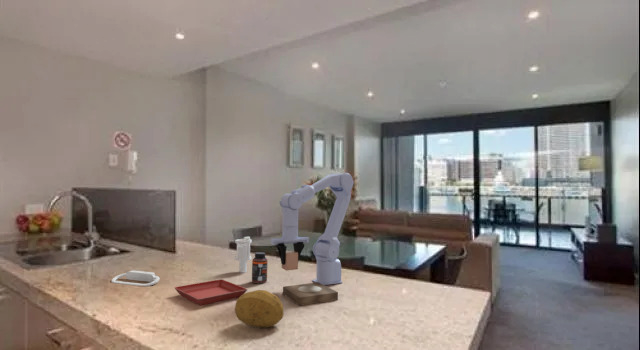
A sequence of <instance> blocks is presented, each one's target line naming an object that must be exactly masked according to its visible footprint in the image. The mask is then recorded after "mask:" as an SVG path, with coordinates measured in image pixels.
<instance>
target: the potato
mask: <svg viewBox="0 0 640 350" xmlns="http://www.w3.org/2000/svg"><path fill="white" fill-rule="evenodd" d="M234 306H235V307H234V313H235V316H236V318H237V319H238V320H239V321H240V322H242V323H244V324H246V325H248V326H250V327H254V328H260V329H261V328H262V329H263V328H266V329H268V328H270V327H274V326H275V325H277V324H278V323H279V322H280V321H281V320H282V319H283V318H284V314H285V313H284V305H283V303H282V300H281V299H280V298H279V297H278V296H277V295H276V294H274V293H272V292H270V291H268V290H263V289H257V290H253V291H247V292H245V293H244V294H243V295H241V296H240V297H239V298H236V302H235V305H234Z"/></svg>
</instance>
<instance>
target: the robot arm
mask: <svg viewBox="0 0 640 350" xmlns="http://www.w3.org/2000/svg"><path fill="white" fill-rule="evenodd" d="M354 183H355V181H354V179H353V176H352V175H351V174H350V173H349V172H343V173H342V172H339V173H334V172H332V173H329V174H327V175H325V176H324V177H322V178H321V179H319V180H317V181H316V182H314V183H312V184H311V185H309V184H301V185H300V187H299V188H297V189H292V190H291V192H290V193H284V194H283V195H282V196H281V198H280V200H279V205H280V207H281V212H282V232H281V234H282V235H281V237H278V238H270V245H271V246H275V248H276V250H277V251H278V254H279V257H280V262H281V263H280V264H281V265H282V264H283V265H285V262H286V258H285V256H286V251H287V245H289V244H290V245H291V244H292V245H293V251H295V252H298V262H299V261H300V257H301V254H302V252H303V249H304V248H305V244H308V243H310V237H308V236H299V209H301V207H302V204H305V203H307V202H308V201H310V200H311V199H313V198H314V197H315V195H316V193H318V192H320V191H323V190H324V189H326V188H329V189H330V191H331V192H332V193H333V195H335V197H336V199H335V201H334V205H333V207H332V211H331V213H330V215H329V218H328V221H327V225H326V227H325V230H324V232H323V233H322V235H320V236H318V239H317V241H316V242H314V244H313V247H312V252H313V255H314V256H315V259H316V278H315V279H312V280H311V281H312V282H313V283H316V282H319V283H321V284H323V285H325V286H328V285H336V284H342V283H343V281H342V264H341V260H340V259H339V258H338V257H339V254H340V245H341V242H340V240H339V238H338V237H339V233H340V230H341V229H342V225H343V222H344V218H345V217H346V213H347V210H348V208H349V204H350V201H351V199H352V189H353V188H354Z"/></svg>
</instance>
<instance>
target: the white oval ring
mask: <svg viewBox="0 0 640 350" xmlns="http://www.w3.org/2000/svg"><path fill="white" fill-rule="evenodd" d="M155 273H156V272H152V271H143V270H133V269H132V270H129V271H126V272H124V273H121V274H118V275H116V276H114V277H113V278H112V279H111V283H112V284H118V285H127V286H136V287H151V286H155V284H158V283H159V281H160V277H159V276H158V275H156V274H155ZM124 277H125V278H126V279H127V280H131V281H138V282H139V281H141V282H148V283H141V282H140V283H138V282H131V281H130V282H128V281H120V280H118V279H119V278H124Z"/></svg>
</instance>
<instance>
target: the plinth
mask: <svg viewBox="0 0 640 350" xmlns="http://www.w3.org/2000/svg"><path fill="white" fill-rule="evenodd" d="M282 295H284V296H286V298H288V299H289V300H291V301H293V302H294V303H295V304H297V305H298V306H306V305H312V304H319V303H320V304H321V303H325V302H331V301H338V299H339V292H338V291H337V290H334V289H333V288H330V287H329V286H328V285H323V284H321V283H319V282H308V283H302V284H295V285H294V284H292V285H286V286H282Z"/></svg>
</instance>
